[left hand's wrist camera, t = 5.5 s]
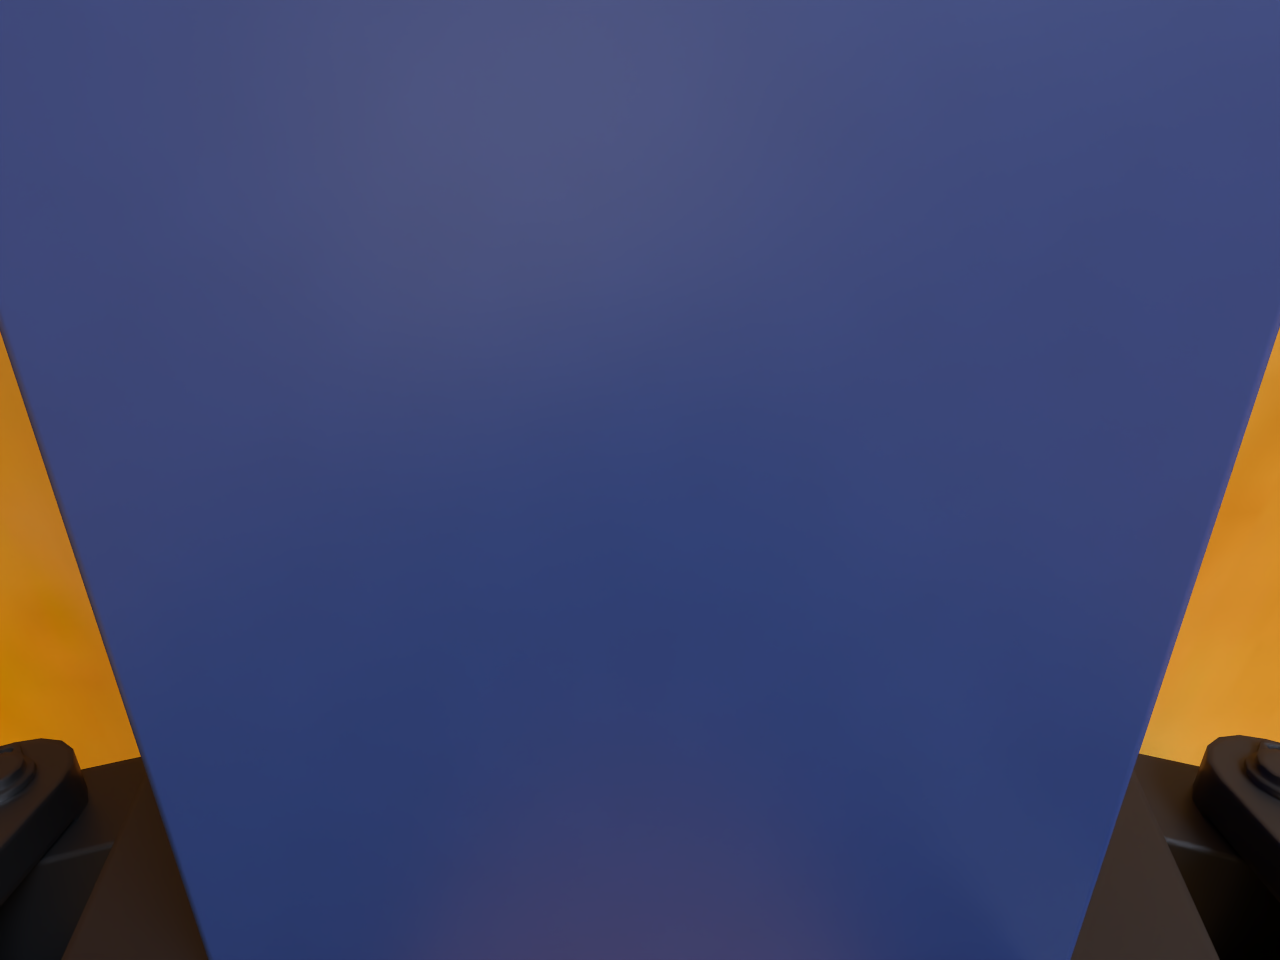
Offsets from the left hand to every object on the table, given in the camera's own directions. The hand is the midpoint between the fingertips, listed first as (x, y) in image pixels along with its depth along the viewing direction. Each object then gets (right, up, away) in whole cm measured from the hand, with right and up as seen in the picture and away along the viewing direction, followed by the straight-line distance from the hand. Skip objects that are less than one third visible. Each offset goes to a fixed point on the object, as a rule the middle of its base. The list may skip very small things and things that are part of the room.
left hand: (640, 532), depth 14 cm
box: (0, +9, -1) cm, 9 cm away
